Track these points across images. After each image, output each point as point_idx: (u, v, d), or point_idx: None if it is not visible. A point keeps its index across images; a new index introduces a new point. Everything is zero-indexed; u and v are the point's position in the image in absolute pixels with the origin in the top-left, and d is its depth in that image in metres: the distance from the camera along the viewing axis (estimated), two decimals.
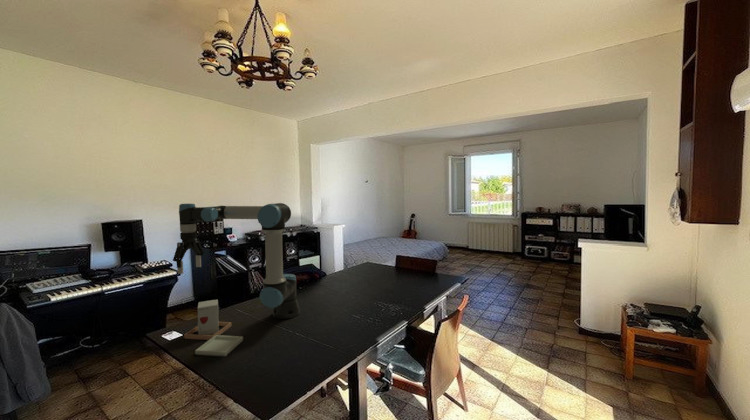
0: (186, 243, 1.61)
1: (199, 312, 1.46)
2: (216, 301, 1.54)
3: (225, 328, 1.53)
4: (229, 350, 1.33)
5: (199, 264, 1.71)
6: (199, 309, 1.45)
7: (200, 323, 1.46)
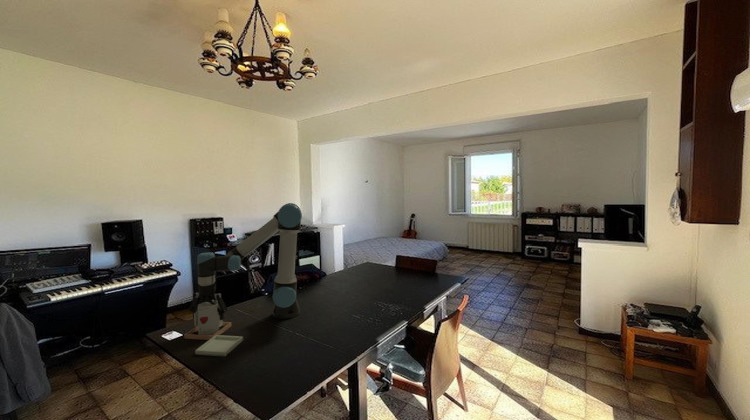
0: (200, 295, 1.50)
1: (199, 311, 1.46)
2: None
3: (225, 328, 1.53)
4: (229, 350, 1.33)
5: None
6: (199, 309, 1.45)
7: (200, 323, 1.46)
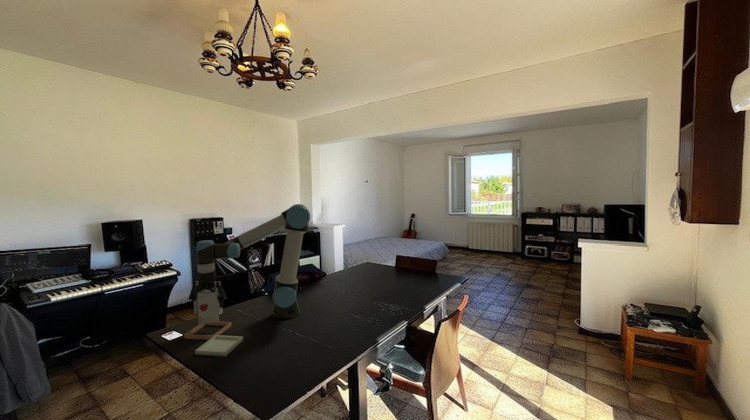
0: (200, 283, 1.49)
1: (199, 299, 1.45)
2: None
3: (225, 328, 1.53)
4: (229, 350, 1.33)
5: None
6: (199, 296, 1.45)
7: (200, 311, 1.46)
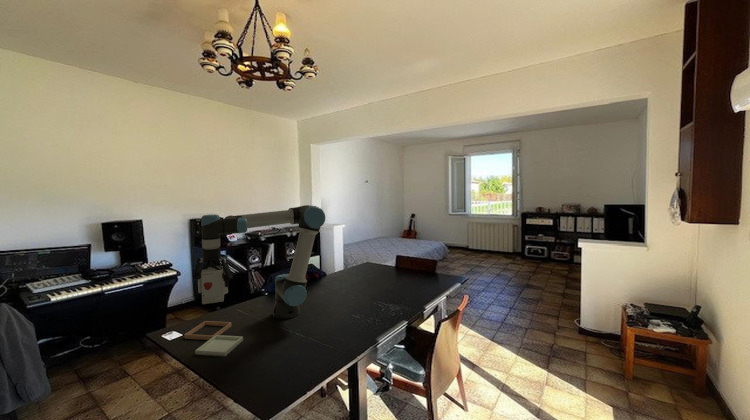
0: (204, 260, 1.40)
1: (203, 276, 1.35)
2: None
3: (225, 328, 1.53)
4: (229, 350, 1.33)
5: None
6: (203, 274, 1.35)
7: (204, 289, 1.36)
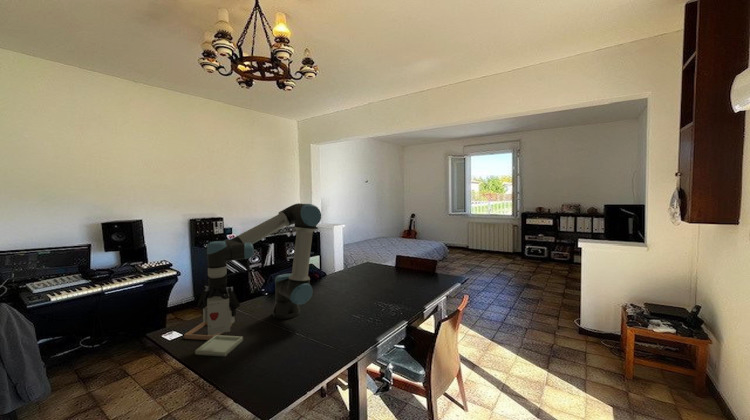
0: (210, 289, 1.35)
1: (209, 307, 1.30)
2: None
3: None
4: (229, 350, 1.33)
5: None
6: (209, 304, 1.30)
7: (210, 320, 1.31)
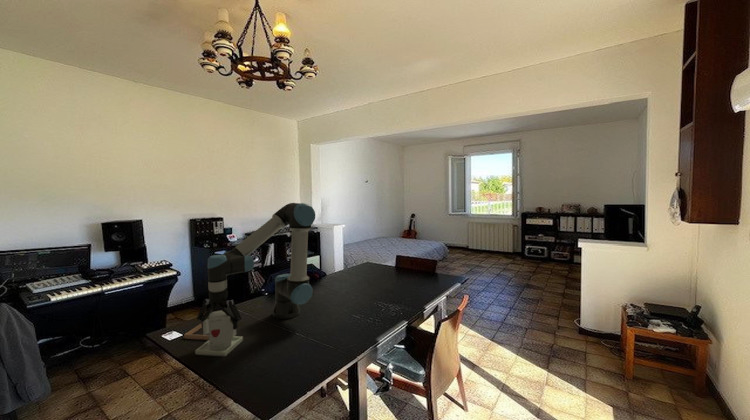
0: (210, 302, 1.35)
1: (211, 324, 1.31)
2: None
3: None
4: (229, 350, 1.33)
5: None
6: (210, 321, 1.31)
7: (211, 337, 1.31)
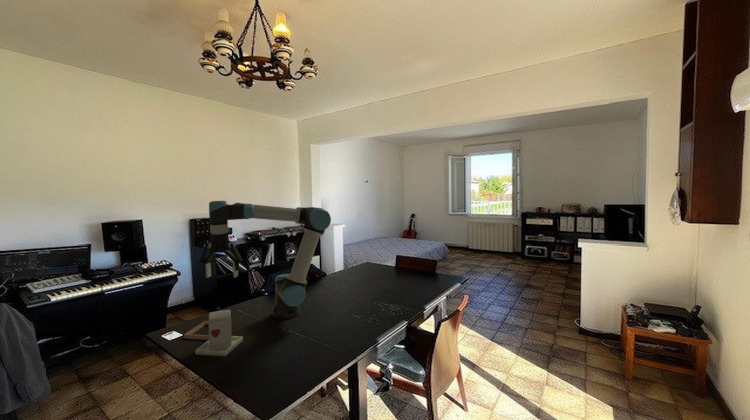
0: (212, 245, 1.42)
1: (211, 324, 1.31)
2: (229, 311, 1.39)
3: None
4: (229, 350, 1.33)
5: None
6: (210, 321, 1.31)
7: (211, 337, 1.31)
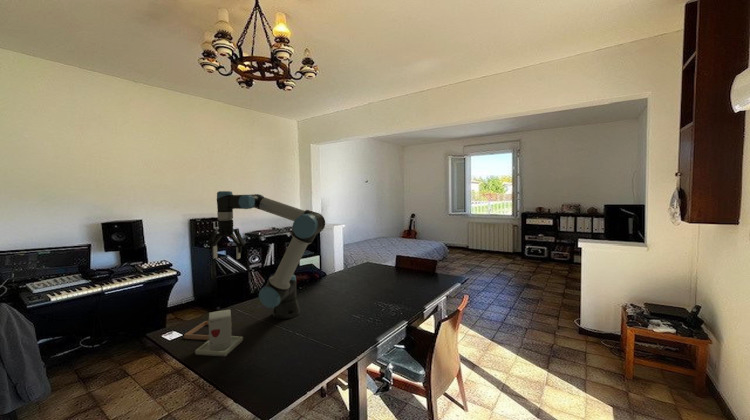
0: (219, 230, 1.61)
1: (211, 324, 1.31)
2: (229, 311, 1.39)
3: None
4: (229, 350, 1.33)
5: None
6: (210, 321, 1.31)
7: (211, 337, 1.31)
